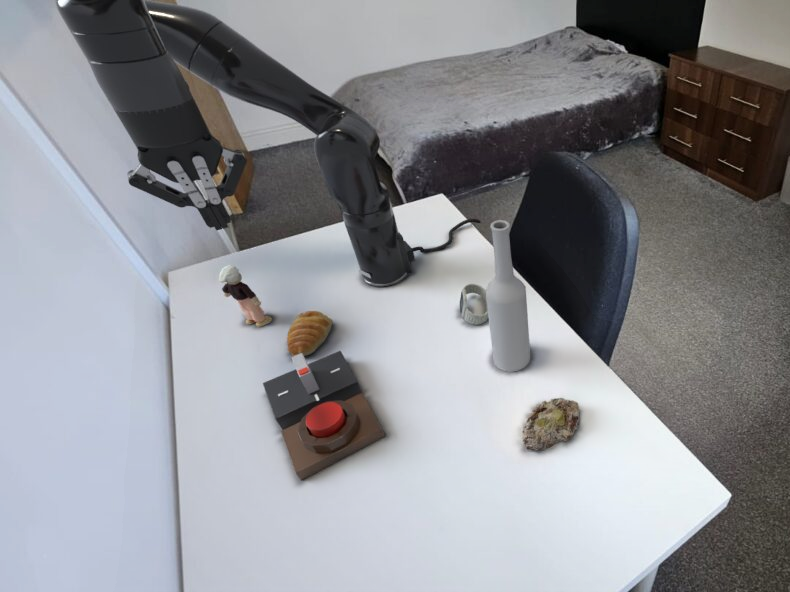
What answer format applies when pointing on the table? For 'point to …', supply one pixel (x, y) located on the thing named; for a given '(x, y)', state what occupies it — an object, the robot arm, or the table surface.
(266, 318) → the grandmother figurine
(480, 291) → the wristwatch
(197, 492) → the table surface
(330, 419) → the button
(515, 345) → the bottle
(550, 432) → the mineral rock
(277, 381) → the panel
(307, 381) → the grey block red tab
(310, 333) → the pastry
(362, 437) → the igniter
